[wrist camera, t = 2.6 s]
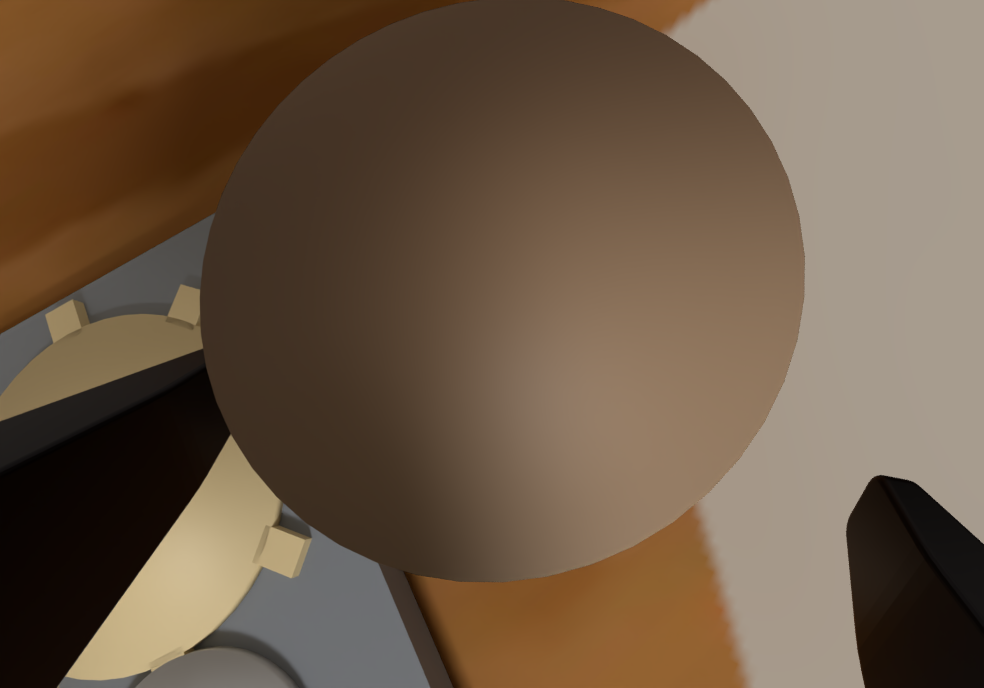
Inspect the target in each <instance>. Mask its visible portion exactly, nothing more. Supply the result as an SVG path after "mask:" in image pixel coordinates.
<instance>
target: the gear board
mask: <svg viewBox="0 0 984 688" xmlns="http://www.w3.org/2000/svg"><path fill="white" fill-rule="evenodd" d="M214 216H215V213H214V214H212V215H210V216H209V217H207V218H205V219H203V220H202V221H200V222H198V223H196V224H194V225H193V226H191V227H189V228H187V229H186V230H184V231H182V232H180V233H179V234H177V235H175V236H173V237H171V238H170V239H168V240H166V241H164V242H163V243H161V244H159V245H157V246H155V247H154V248H152V249H150V250H148V251H147V252H145V253H143V254H141V255H140V256H138V257H136V258H134V259H132V260H131V261H129V262H127V263H125V264H124V265H122V266H120V267H118V268H117V269H115V270H113V271H111V272H109V273H108V274H106V275H104V276H102V277H101V278H99V279H97V280H95V281H94V282H92V283H90V284H88V285H86V286H85V287H83V288H81V289H79V290H78V291H76V292H74V293H72V294H71V295H69V296H67V297H65V298H63V299H62V300H60V301H58V302H56V303H55V304H53V305H51V306H49V307H48V308H46V309H44V310H42V311H40V312H39V313H37V314H35V315H33V316H32V317H30V318H28V319H26V320H25V321H23V322H21V323H19V324H17V325H16V326H14V327H12V328H10V329H9V330H7V331H5V332H3V333H1V334H0V421H2V420H5V419H8V418H10V417H13V416H16V415H19V414H22V413H24V412H27V411H30V410H33V409H35V408H38V407H41V406H44V405H47V404H49V403H52V402H55V401H58V400H61V399H63V398H66V397H69V396H72V395H74V394H77V393H80V392H83V391H86V390H88V389H91V388H94V387H97V386H100V385H102V384H105V383H108V382H111V381H113V380H116V379H119V378H122V377H125V376H127V375H130V374H133V373H136V372H139V371H141V370H144V369H147V368H150V367H152V366H155V365H158V364H161V363H164V362H166V361H169V360H172V359H175V358H178V357H180V356H183V355H186V354H189V353H191V352H194V351H197V350H200V349H203V344H202V338H201V328H200V287H201V277H202V266H203V259H204V254H205V250H206V245H207V241H208V236H209V232H210V227H211V224H212V222H213V219H214ZM57 688H453V686H452V683H451V681H450V679H449V676H448V674H447V672H446V669H445V667H444V665H443V662H442V660H441V658H440V655H439V653H438V651H437V648H436V646H435V644H434V641H433V639H432V637H431V634H430V632H429V630H428V627H427V625H426V623H425V621H424V618H423V616H422V614H421V611H420V609H419V607H418V604H417V602H416V600H415V597H414V595H413V593H412V590H411V588H410V586H409V583H408V581H407V579H406V576H405V574H404V572H403V571H402V570H399V569H396V568H393V567H389V566H386V565H383V564H380V563H376V562H374V561H372V560H370V559H368V558H366V557H364V556H361V555H359V554H357V553H355V552H353V551H351V550H349V549H347V548H345V547H342V546H340V545H338V544H337V543H335V542H334V541H332V540H331V539H329V538H328V537H326V536H325V535H323V534H322V533H320V532H319V531H317V530H316V529H314V528H313V527H311V526H310V525H308V524H307V523H305V522H304V521H303V520H302V519H301V518H300V517H299V516H297V515H296V514H295V513H294V512H293V511H292V510H291V509H290V508H288V507H287V506H286V505H285V504H284V503H283V502H282V501H281V500H279V499H278V498H277V497H276V496H275V495H274V493H273V492H272V491H271V490H270V489H269V487H268V486H267V485H266V484H265V483H264V482H263V480H262V479H261V478H260V477H259V476H258V474H257V473H256V472H255V471H254V470H253V469H252V467H251V466H250V464H249V462H248V461H247V459H246V458H245V456H244V455H243V453H242V451H241V450H240V448H239V447H238V445H237V443H236V442H235V440H234V439H233V437H232V435H230V437H229V438H228V440H227V442H226V444H225V445H224V447H223V449H222V451H221V452H220V454H219V456H218V458H217V459H216V461H215V463H214V465H213V466H212V468H211V470H210V472H209V473H208V475H207V477H206V478H205V480H204V481H203V483H202V485H201V486H200V488H199V489H198V491H197V492H196V494H195V495H194V497H193V498H192V500H191V501H190V503H189V504H188V505H187V507H186V508H185V510H184V511H183V512H182V514H181V515H180V517H179V518H178V519H177V521H176V522H175V524H174V525H173V526H172V528H171V529H170V531H169V532H168V533H167V535H166V536H165V538H164V539H163V540H162V542H161V543H160V545H159V546H158V547H157V549H156V550H155V552H154V553H153V554H152V556H151V557H150V559H149V560H148V561H147V563H146V564H145V566H144V567H143V568H142V570H141V571H140V573H139V574H138V575H137V577H136V578H135V580H134V581H133V582H132V584H131V585H130V587H129V588H128V589H127V591H126V592H125V594H124V595H123V596H122V598H121V599H120V601H119V602H118V603H117V605H116V606H115V608H114V609H113V610H112V612H111V613H110V615H109V616H108V617H107V619H106V620H105V622H104V623H103V624H102V626H101V627H100V628H99V630H98V631H97V633H96V634H95V635H94V637H93V638H92V640H91V641H90V642H89V644H88V645H87V647H86V648H85V649H84V651H83V652H82V654H81V655H80V656H79V658H78V659H77V661H76V662H75V663H74V665H73V666H72V668H71V669H70V670H69V672H68V673H67V675H66V676H65V677H64V679H63V680H62V682H61V683H60V684H59V686H58V687H57Z"/></svg>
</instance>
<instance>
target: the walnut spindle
mask: <svg viewBox="0 0 984 688" xmlns="http://www.w3.org/2000/svg"><path fill="white" fill-rule="evenodd" d="M804 266H805V256H804V248H803V240H802V233H801V227H800V218H799V214H798V210H797V207H796V203H795V200H794V196H793V193H792V189H791V186H790V183H789V179H788V176H787V174H786V172H785V170H784V168H783V165H782V163H781V161H780V159H779V157H778V154H777V152H776V150H775V148H774V146H773V144H772V141H771V140H770V138H769V137H768V135H767V134H766V132H765V131H764V129H763V127H762V126H761V124H760V123H759V121H758V120H757V118H756V117H755V115H754V114H753V112H752V111H751V109H750V108H749V107H748V105H747V104H746V103H745V102H744V101H743V100H742V99H741V97H740V96H739V95H738V94H737V93H736V92H735V91H734V90H733V88H732V87H731V86H730V85H729V84H728V83H727V81H725V79H723V78H722V77H721V76H720V75H719V74H718V73H717V72H715V71H714V70H713V69H712V68H711V67H710V66H708V65H707V64H706V63H705V62H704V61H703V60H701V59H700V58H699V57H698V56H697V55H695V54H694V53H692V52H691V51H689V50H688V49H686V48H685V47H683V46H682V45H680V44H679V43H677V42H676V41H674V40H673V39H671V38H670V37H668V36H667V35H665V34H663V33H661V32H658V31H656V30H654V29H652V28H650V27H648V26H646V25H644V24H642V23H640V22H638V21H636V20H634V19H631V18H628V17H625V16H622V15H619V14H616V13H613V12H610V11H607V10H604V9H602V8H598V7H593V6H589V5H584V4H579V3H574V2H569V1H565V0H477V1H470V2H463V3H456V4H453V5H449V6H445V7H441V8H437V9H433V10H429V11H425V12H422V13H419V14H417V15H414V16H411V17H409V18H406V19H403V20H401V21H398V22H395V23H393V24H390V25H388V26H386V27H384V28H382V29H380V30H378V31H376V32H374V33H372V34H370V35H368V36H366V37H364V38H362V39H360V40H358V41H357V42H355V43H354V44H352V45H351V46H349V47H348V48H346V49H344V50H343V51H341V52H340V53H338V54H337V55H335V56H334V57H332V58H331V59H329V60H328V61H327V62H325V63H324V64H323V65H322V66H320V67H319V68H318V69H317V70H315V71H314V72H313V73H312V74H311V75H309V76H308V77H307V78H306V79H304V80H303V81H302V82H301V83H300V84H299V85H298V86H297V87H296V88H295V89H294V90H293V91H292V92H291V93H290V94H289V95H288V96H287V97H286V98H285V99H284V100H283V101H282V102H281V103H280V104H279V105H278V106H277V107H276V109H275V110H274V111H273V112H272V114H271V115H270V116H269V117H268V119H267V120H266V121H265V122H264V124H263V125H262V126H261V127H260V129H259V130H258V131H257V132H256V134H255V135H254V137H253V139H252V140H251V142H250V143H249V145H248V146H247V148H246V150H245V151H244V153H243V154H242V156H241V158H240V159H239V161H238V162H237V164H236V166H235V168H234V170H233V173H232V175H231V177H230V179H229V181H228V183H227V185H226V187H225V189H224V191H223V193H222V196H221V199H220V201H219V204H218V207H217V210H216V213H215V216H214V219H213V222H212V224H211V227H210V232H209V236H208V241H207V245H206V250H205V254H204V259H203V266H202V277H201V287H200V328H201V338H202V344H203V350H204V357H205V363H206V368H207V372H208V375H209V379H210V382H211V385H212V389H213V392H214V395H215V399H216V402H217V404H218V407H219V409H220V411H221V413H222V415H223V418H224V420H225V422H226V424H227V426H228V429H229V431H230V433H231V435H232V437H233V439H234V440H235V442H236V443H237V445H238V447H239V448H240V450H241V451H242V453H243V455H244V456H245V458H246V459H247V461H248V462H249V464H250V466H251V467H252V469H253V470H254V471H255V472H256V473H257V474H258V476H259V477H260V478H261V479H262V480H263V482H264V483H265V484H266V485H267V486H268V487H269V489H270V490H271V491H272V492H273V493H274V495H275V496H276V497H277V498H278V499H279V500H281V501H282V502H283V503H284V504H285V505H286V506H287V507H288V508H290V509H291V510H292V511H293V512H294V513H295V514H296V515H297V516H299V517H300V518H301V519H302V520H303V521H304V522H305V523H307V524H308V525H310V526H311V527H313V528H314V529H316V530H317V531H319V532H320V533H322V534H323V535H325V536H326V537H328V538H329V539H331V540H332V541H334V542H335V543H337V544H338V545H340V546H342V547H345V548H347V549H349V550H351V551H353V552H355V553H357V554H359V555H361V556H364V557H366V558H368V559H370V560H372V561H374V562H376V563H380V564H383V565H386V566H389V567H393V568H396V569H399V570H402V571H406V572H409V573H412V574H415V575H421V576H427V577H433V578H440V579H446V580H453V581H459V582H508V581H516V580H524V579H531V578H539V577H547V576H551V575H555V574H558V573H562V572H566V571H569V570H573V569H577V568H580V567H584V566H587V565H591V564H594V563H596V562H598V561H601V560H603V559H605V558H607V557H610V556H612V555H614V554H617V553H619V552H621V551H624V550H626V549H628V548H631V547H633V546H635V545H636V544H638V543H640V542H641V541H643V540H645V539H646V538H648V537H649V536H651V535H653V534H654V533H656V532H658V531H659V530H661V529H663V528H664V527H666V526H667V525H669V524H671V523H672V522H674V521H675V520H676V519H677V518H679V517H680V516H681V515H682V514H683V513H685V512H686V511H687V510H688V509H690V508H691V507H692V506H693V505H694V504H696V503H697V502H698V501H699V500H700V499H702V498H703V497H704V496H705V495H706V494H707V493H709V492H710V491H711V490H712V488H713V487H714V486H715V485H716V484H717V483H718V482H719V481H720V479H722V478H723V476H724V475H725V474H726V473H727V472H728V471H729V470H730V468H732V467H733V465H734V464H735V463H736V462H737V461H738V460H739V459H740V457H741V456H742V454H743V453H744V451H745V450H746V449H747V447H748V445H749V444H750V443H751V441H752V440H753V438H754V437H755V435H756V434H757V432H758V431H759V429H760V428H761V426H762V425H763V423H764V422H765V420H766V418H767V416H768V414H769V412H770V410H771V408H772V406H773V404H774V402H775V399H776V397H777V395H778V393H779V391H780V389H781V387H782V385H783V383H784V381H785V377H786V374H787V371H788V368H789V365H790V362H791V358H792V355H793V352H794V349H795V346H796V342H797V339H798V333H799V327H800V320H801V314H802V308H803V302H804V268H805V267H804Z"/></svg>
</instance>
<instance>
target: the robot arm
mask: <svg viewBox="0 0 984 688" xmlns="http://www.w3.org/2000/svg"><path fill="white" fill-rule="evenodd" d="M230 435H231V433H230V431H229V429H228V426H227V424H226V422H225V420H224V418H223V415H222V413H221V411H220V409H219V407H218V404H217V402H216V399H215V395H214V392H213V389H212V385H211V382H210V379H209V375H208V372H207V368H206V363H205V357H204V350H203V349H200V350H197V351H194V352H191V353H189V354H186V355H183V356H180V357H178V358H175V359H172V360H169V361H166V362H164V363H161V364H158V365H155V366H152V367H150V368H147V369H144V370H141V371H139V372H136V373H133V374H130V375H127V376H125V377H122V378H119V379H116V380H113V381H111V382H108V383H105V384H102V385H100V386H97V387H94V388H91V389H88V390H86V391H83V392H80V393H77V394H74V395H72V396H69V397H66V398H63V399H61V400H58V401H55V402H52V403H49V404H47V405H44V406H41V407H38V408H35V409H33V410H30V411H27V412H24V413H22V414H19V415H16V416H13V417H10V418H8V419H5V420H2V421H0V688H57V687H58V686H59V684H60V683H61V682H62V680H63V679H64V677H65V676H66V675H67V673H68V672H69V670H70V669H71V668H72V666H73V665H74V663H75V662H76V661H77V659H78V658H79V656H80V655H81V654H82V652H83V651H84V649H85V648H86V647H87V645H88V644H89V642H90V641H91V640H92V638H93V637H94V635H95V634H96V633H97V631H98V630H99V628H100V627H101V626H102V624H103V623H104V622H105V620H106V619H107V617H108V616H109V615H110V613H111V612H112V610H113V609H114V608H115V606H116V605H117V603H118V602H119V601H120V599H121V598H122V596H123V595H124V594H125V592H126V591H127V589H128V588H129V587H130V585H131V584H132V582H133V581H134V580H135V578H136V577H137V575H138V574H139V573H140V571H141V570H142V568H143V567H144V566H145V564H146V563H147V561H148V560H149V559H150V557H151V556H152V554H153V553H154V552H155V550H156V549H157V547H158V546H159V545H160V543H161V542H162V540H163V539H164V538H165V536H166V535H167V533H168V532H169V531H170V529H171V528H172V526H173V525H174V524H175V522H176V521H177V519H178V518H179V517H180V515H181V514H182V512H183V511H184V510H185V508H186V507H187V505H188V504H189V503H190V501H191V500H192V498H193V497H194V495H195V494H196V492H197V491H198V489H199V488H200V486H201V485H202V483H203V481H204V480H205V478H206V477H207V475H208V473H209V472H210V470H211V468H212V466H213V465H214V463H215V461H216V459H217V458H218V456H219V454H220V452H221V451H222V449H223V447H224V445H225V444H226V442H227V440H228V438H229V437H230ZM846 537H847V548H848V558H849V569H850V580H851V590H852V601H853V611H854V623H855V633H856V641H857V649H858V655H859V660H860V665H861V671H862V676H863V680H864V685H865V688H984V544H983V543H982V542H981V541H980V540H979V539H977V538H976V537H975V536H974V535H973V534H972V533H971V532H970V531H969V530H968V529H966V528H965V527H964V526H963V525H962V524H961V523H960V522H959V521H958V520H956V519H955V518H954V517H953V516H952V515H951V514H950V513H949V512H948V511H947V510H945V509H944V508H943V507H942V506H941V505H940V504H939V503H938V502H936V501H935V500H934V499H933V498H932V497H931V496H930V495H928V493H927V492H925V491H924V490H923V489H922V488H921V487H920V486H919V485H917V484H916V483H914V482H912V481H909V480H905V479H900V478H895V477H889V476H884V475H879V476H875V477H874V478H872V479H871V481H870V482H869V483H868V485H867V486H866V489H865V490H864V492H863V494H862V495H861V497H860V499H859V501H858V502H857V504H856V506H855V508H854V509H853V511H852V513H851V515H850V517H849V519H848V523H847V531H846Z"/></svg>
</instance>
